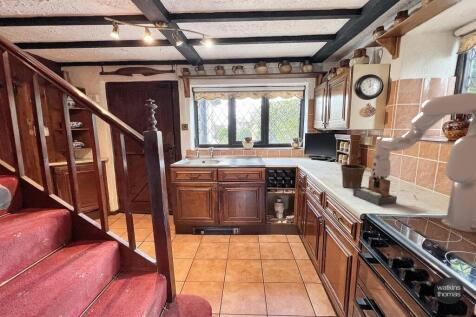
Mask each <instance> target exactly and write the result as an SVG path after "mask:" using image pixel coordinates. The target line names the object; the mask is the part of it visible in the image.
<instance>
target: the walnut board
mask: <svg viewBox="0 0 476 317" xmlns="http://www.w3.org/2000/svg"><path fill="white" fill-rule="evenodd" d="M370 176H371V175H370ZM370 176H369V178H368V187H367V188H368V190H370V191H372V192H376V193H379V194H381V195H383V196H385V197H389V195H390V187H391V180H390V179H387V178H386V179H383V178H380V177H379V188H376V187H374V180H373V178H371V177H370ZM376 178H377V177H376Z"/></svg>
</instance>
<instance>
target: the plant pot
mask: <svg viewBox="0 0 476 317" xmlns="http://www.w3.org/2000/svg"><path fill="white" fill-rule="evenodd" d="M340 168H341V177H342V178H341V179H342V182H341V183H342V184H341V185H342V188H345V189H353V190H354V189H362V183H363V177H364V174H365V170H366V166H365V165H362V164H352V163H351V164H350V163H347V164H340Z"/></svg>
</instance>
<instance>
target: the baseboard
mask: <svg viewBox="0 0 476 317" xmlns="http://www.w3.org/2000/svg"><path fill="white" fill-rule="evenodd" d="M391 192H392V193H393V194H395V195H399V196H402V197H404V198H408V199H411V200H413V201H418V200H417V198H416V197H415V194H414V192H408V191H405V190H403V189H400V190H399V189H398V190H391Z"/></svg>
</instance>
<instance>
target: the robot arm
mask: <svg viewBox="0 0 476 317" xmlns="http://www.w3.org/2000/svg"><path fill="white" fill-rule="evenodd" d="M420 111H421V112H420V113H418V114H417V115H416V116H414V118H413V119H411V122H410V123H411V128H410V129H409V130H408V131H407V132H406V133H405V134H403V135H402V136H396V137H395V136H394V137H390V136H377V138H375V139H376V140H375V146H374V147H375V148H374V156H373V157H374V158H373V161H372V164H371V170H370V171H371V172H370V174H371V175H370V177H371V178H373V180H374V187H376V188H379V178H383V179H386V180H387V178H388V177H389V176H390V175H391V160H390V155H391V154H390V153H391V151H392V152H395V151H396V152H397V151H406V150H408V149H410V148H411V147H412V146H414V145H415V144H416V143H417V142H419V141H420V140H421V139H422V138H423V137H424V135H425V134H426V133H427V131H429V130H430V128H433V126H435V125H436V124H437V123H439V122H440V121H441V120H442V119H444V118H445V117H446V116H450V115H451V116H452V115H466V114H467V115H473V117H472V120H471V121H470V123H469V125H468V130H467V133H466V134H465V136H462V137H459V138H458V139H457V140H455V142H453V144H452V146H451V149H450V151H449V155H448V159H447V162H446V165H445V175H446V177H447V178H448V179H449V180H450V181H452V185H451V187H450V188H451V189H450V194H449V195H450V196H449V201H448V205H447V206H448V208H447V213H446V217H445V218H442V219H441V220H440V221H441V223H442V224H443V226H445V227H448V228H451V229H454V230H457V231H460V232H465V233H476V93H474V92H464V93H457V94H450V95H444V96H437V97H431V98H429V99H426V100H425V101H424V102H423V103H422V104H421V107H420ZM376 177H377V178H376Z"/></svg>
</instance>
